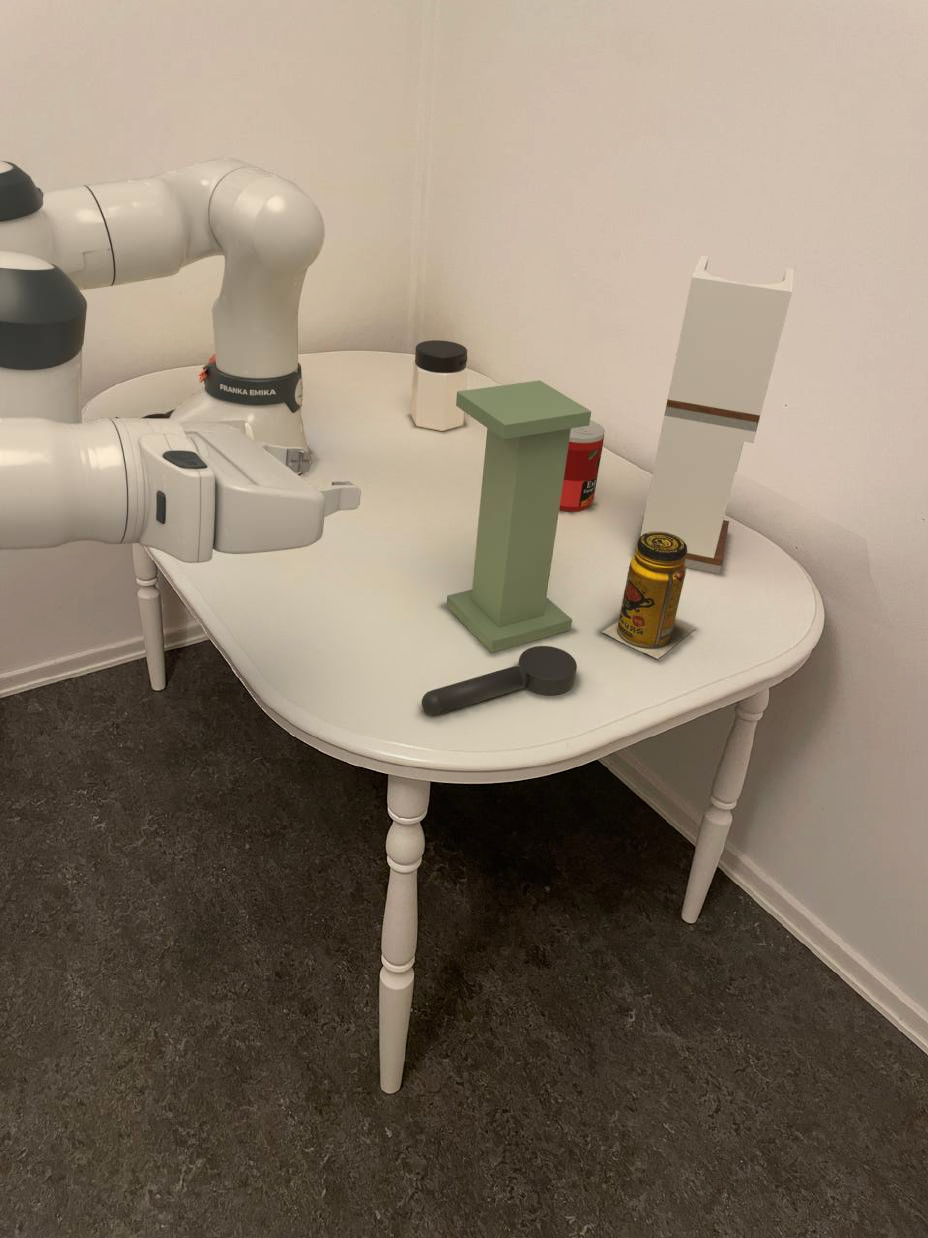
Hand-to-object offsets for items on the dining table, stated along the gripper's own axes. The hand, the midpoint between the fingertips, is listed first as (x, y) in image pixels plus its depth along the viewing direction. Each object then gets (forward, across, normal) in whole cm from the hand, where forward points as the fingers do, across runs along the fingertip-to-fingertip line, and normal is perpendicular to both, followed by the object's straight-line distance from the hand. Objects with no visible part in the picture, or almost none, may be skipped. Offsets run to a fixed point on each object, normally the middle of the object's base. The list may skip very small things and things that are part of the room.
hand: (330, 476), depth 76 cm
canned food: (+53, -34, -15) cm, 64 cm away
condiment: (+42, -3, -20) cm, 47 cm away
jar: (+49, -65, -12) cm, 83 cm away
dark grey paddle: (+21, -1, -23) cm, 32 cm away
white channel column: (+60, -17, -16) cm, 64 cm away
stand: (+28, -12, -21) cm, 37 cm away
